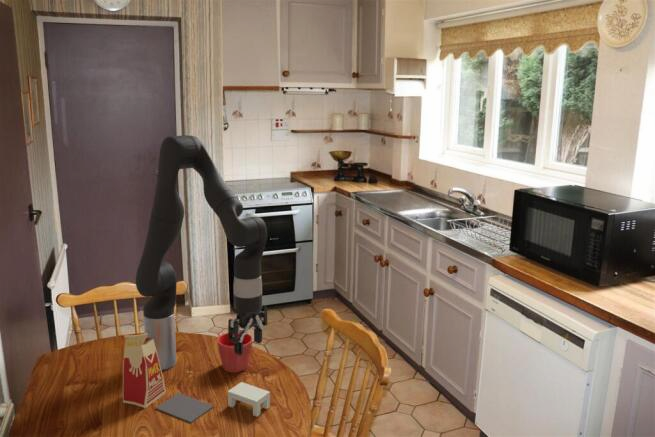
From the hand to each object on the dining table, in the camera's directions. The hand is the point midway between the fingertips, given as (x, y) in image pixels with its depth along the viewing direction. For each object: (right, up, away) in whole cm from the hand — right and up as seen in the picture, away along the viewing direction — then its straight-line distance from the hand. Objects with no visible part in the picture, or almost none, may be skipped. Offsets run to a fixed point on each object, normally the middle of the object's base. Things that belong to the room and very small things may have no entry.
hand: (248, 347), depth 156 cm
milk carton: (-31, -16, +8) cm, 36 cm away
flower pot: (-8, -12, +26) cm, 30 cm away
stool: (-5, -14, +6) cm, 16 cm away
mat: (-18, -17, +3) cm, 25 cm away
